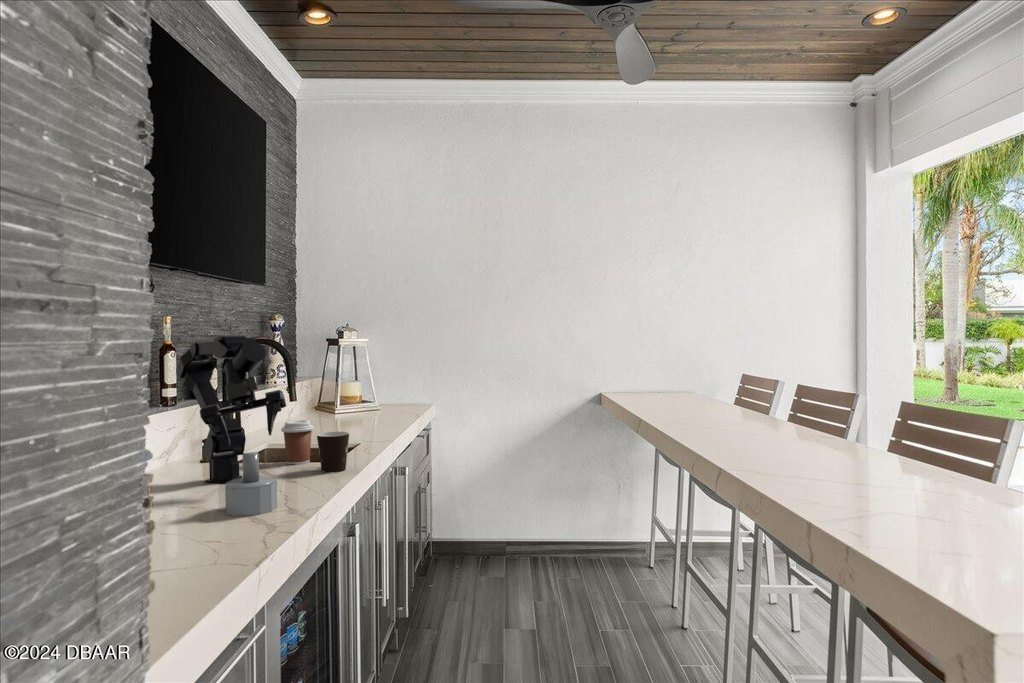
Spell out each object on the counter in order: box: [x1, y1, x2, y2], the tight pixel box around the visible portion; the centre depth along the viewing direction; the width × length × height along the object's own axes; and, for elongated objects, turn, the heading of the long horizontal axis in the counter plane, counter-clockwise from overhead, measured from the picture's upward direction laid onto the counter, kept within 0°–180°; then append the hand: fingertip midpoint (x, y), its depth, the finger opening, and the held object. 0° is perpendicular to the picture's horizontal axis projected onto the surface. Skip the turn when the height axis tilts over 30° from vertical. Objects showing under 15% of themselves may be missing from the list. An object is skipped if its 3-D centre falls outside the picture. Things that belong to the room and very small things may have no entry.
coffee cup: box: [280, 419, 315, 465], centre depth 183 cm, size 9×9×12 cm
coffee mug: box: [316, 431, 350, 473], centre depth 173 cm, size 12×9×10 cm
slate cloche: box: [224, 451, 278, 517], centre depth 134 cm, size 10×10×12 cm
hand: (249, 439), depth 148 cm, fingers open, 9 cm apart
